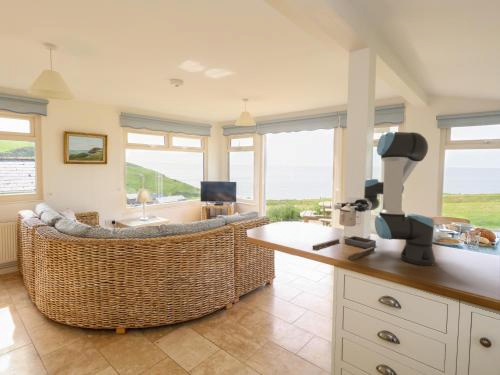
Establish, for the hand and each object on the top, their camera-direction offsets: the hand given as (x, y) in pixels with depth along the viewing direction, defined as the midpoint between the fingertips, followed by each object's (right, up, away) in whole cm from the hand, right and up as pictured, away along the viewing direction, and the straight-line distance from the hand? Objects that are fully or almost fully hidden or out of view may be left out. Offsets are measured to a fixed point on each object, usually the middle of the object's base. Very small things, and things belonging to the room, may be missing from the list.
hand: (342, 208), depth 155 cm
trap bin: (+16, -23, +16) cm, 33 cm away
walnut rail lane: (+2, -24, +4) cm, 24 cm away
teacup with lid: (+3, -10, +4) cm, 11 cm away
